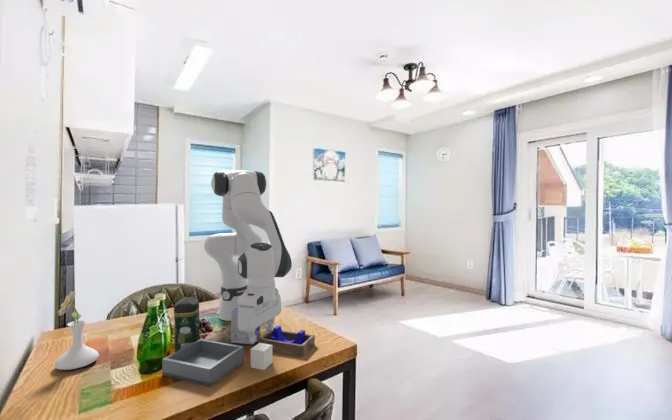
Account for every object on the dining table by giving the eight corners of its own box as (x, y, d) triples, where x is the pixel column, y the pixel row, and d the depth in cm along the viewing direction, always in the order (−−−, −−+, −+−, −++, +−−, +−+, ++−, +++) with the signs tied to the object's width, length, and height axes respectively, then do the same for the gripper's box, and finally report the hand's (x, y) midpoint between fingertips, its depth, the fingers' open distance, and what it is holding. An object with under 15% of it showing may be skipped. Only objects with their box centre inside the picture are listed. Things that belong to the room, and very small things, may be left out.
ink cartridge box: (261, 339, 127) (260, 302, 127) (254, 345, 121) (254, 306, 121) (237, 337, 129) (237, 300, 129) (230, 343, 123) (230, 304, 123)
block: (259, 360, 110) (259, 342, 110) (272, 362, 108) (272, 344, 108) (250, 367, 105) (250, 349, 105) (264, 370, 103) (264, 351, 103)
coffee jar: (178, 345, 121) (178, 295, 121) (201, 343, 123) (201, 294, 122) (171, 357, 112) (170, 303, 111) (196, 355, 113) (195, 302, 113)
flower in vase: (61, 360, 109) (60, 286, 109) (102, 354, 114) (101, 282, 114) (46, 379, 98) (45, 296, 97) (92, 371, 102) (91, 292, 102)
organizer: (272, 337, 128) (272, 329, 128) (314, 344, 122) (314, 335, 122) (258, 348, 119) (258, 338, 119) (302, 356, 112) (302, 346, 112)
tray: (200, 352, 115) (200, 338, 115) (243, 361, 109) (243, 346, 109) (162, 375, 100) (162, 359, 100) (209, 386, 94) (209, 369, 94)
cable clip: (271, 345, 122) (271, 329, 122) (277, 340, 126) (277, 325, 126) (299, 351, 117) (299, 334, 117) (305, 346, 121) (305, 330, 121)
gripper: (270, 285, 117) (270, 324, 117) (233, 301, 98) (234, 347, 98) (285, 287, 115) (285, 326, 115) (251, 303, 95) (252, 350, 95)
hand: (261, 336), depth 106 cm, fingers open, 8 cm apart
